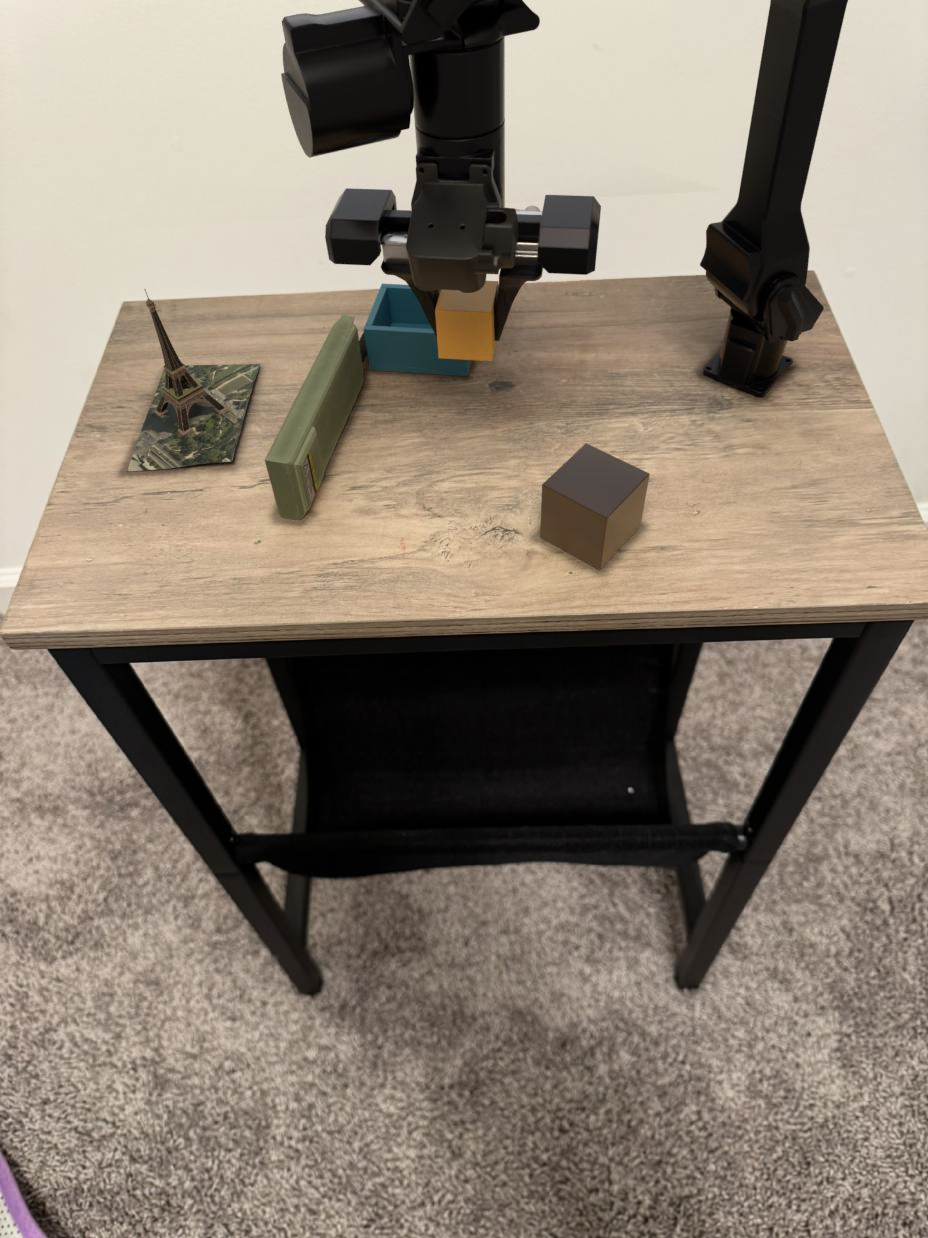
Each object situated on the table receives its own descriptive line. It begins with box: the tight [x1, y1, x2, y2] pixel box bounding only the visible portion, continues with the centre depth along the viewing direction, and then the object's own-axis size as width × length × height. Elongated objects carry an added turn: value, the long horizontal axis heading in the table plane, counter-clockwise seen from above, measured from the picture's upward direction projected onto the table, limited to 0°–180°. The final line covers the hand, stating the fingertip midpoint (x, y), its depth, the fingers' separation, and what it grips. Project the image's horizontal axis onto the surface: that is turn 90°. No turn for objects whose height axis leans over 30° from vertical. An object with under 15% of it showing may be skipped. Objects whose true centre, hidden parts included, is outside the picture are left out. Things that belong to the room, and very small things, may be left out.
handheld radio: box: [264, 314, 368, 521], centre depth 76 cm, size 7×3×25 cm
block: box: [435, 280, 499, 362], centre depth 63 cm, size 4×4×4 cm
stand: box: [539, 442, 651, 571], centre depth 66 cm, size 6×6×6 cm
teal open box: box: [363, 283, 473, 377], centre depth 83 cm, size 10×8×5 cm
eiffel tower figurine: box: [126, 288, 261, 473], centre depth 75 cm, size 15×10×13 cm
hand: (468, 336), depth 65 cm, fingers closed on block, 4 cm apart
